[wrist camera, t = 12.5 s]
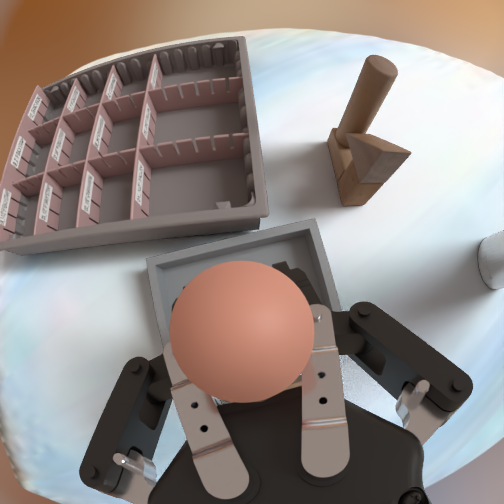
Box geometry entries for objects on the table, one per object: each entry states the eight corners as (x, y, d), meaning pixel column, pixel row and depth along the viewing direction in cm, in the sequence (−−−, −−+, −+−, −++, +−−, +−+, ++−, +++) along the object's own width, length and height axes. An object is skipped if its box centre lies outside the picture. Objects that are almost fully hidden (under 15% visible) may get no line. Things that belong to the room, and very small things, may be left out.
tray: (308, 228, 36) (315, 218, 32) (337, 335, 33) (347, 337, 29) (156, 264, 35) (145, 258, 31) (180, 372, 32) (171, 379, 28)
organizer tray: (266, 237, 36) (270, 208, 26) (23, 262, 35) (-17, 248, 25) (245, 68, 43) (244, 26, 33) (56, 111, 42) (33, 83, 32)
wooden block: (341, 206, 37) (399, 128, 19) (326, 141, 39) (360, 50, 21) (365, 205, 37) (431, 132, 19) (348, 141, 39) (390, 55, 22)
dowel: (269, 288, 21) (292, 245, 8) (283, 340, 20) (328, 380, 7) (216, 301, 20) (156, 280, 8) (230, 354, 20) (190, 413, 7)
